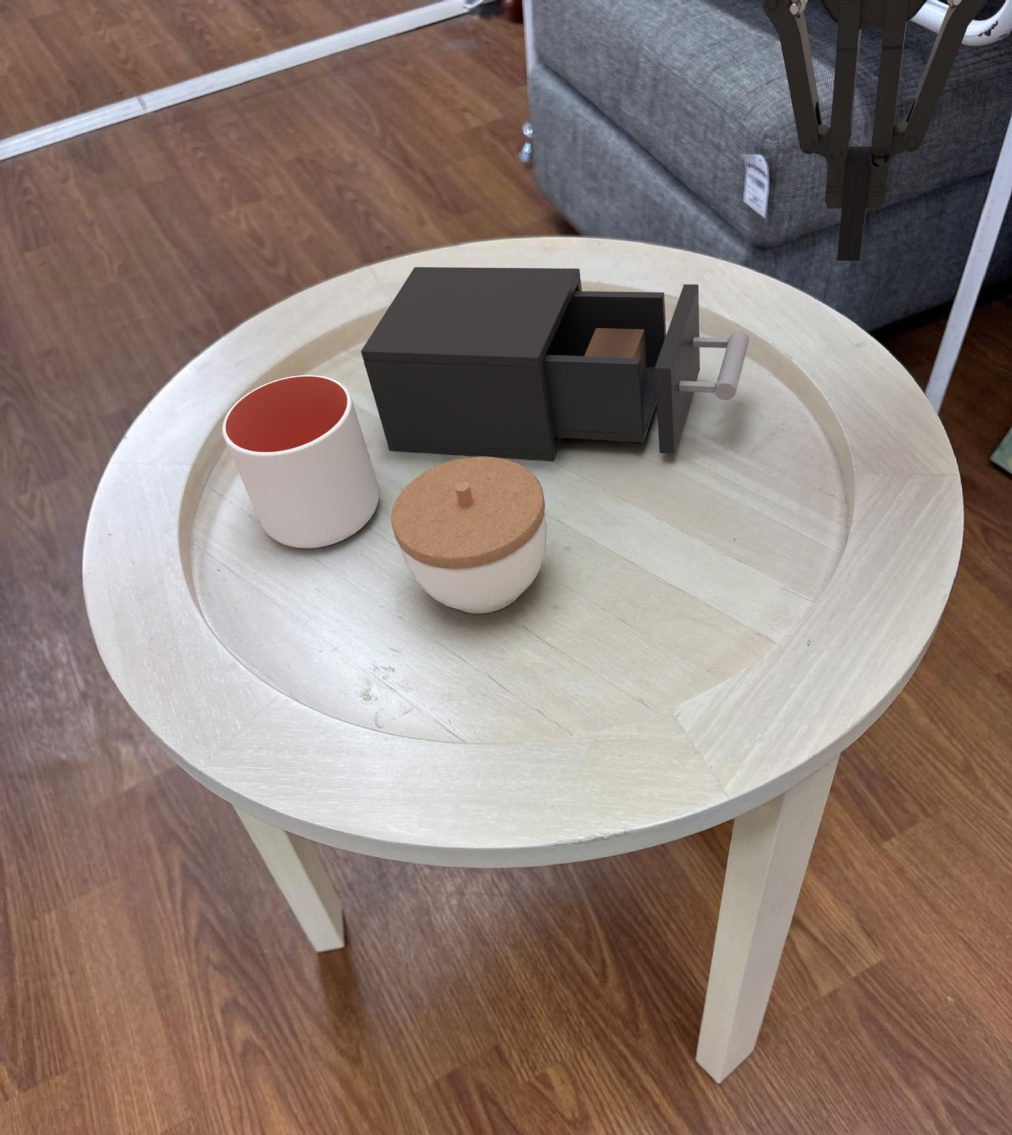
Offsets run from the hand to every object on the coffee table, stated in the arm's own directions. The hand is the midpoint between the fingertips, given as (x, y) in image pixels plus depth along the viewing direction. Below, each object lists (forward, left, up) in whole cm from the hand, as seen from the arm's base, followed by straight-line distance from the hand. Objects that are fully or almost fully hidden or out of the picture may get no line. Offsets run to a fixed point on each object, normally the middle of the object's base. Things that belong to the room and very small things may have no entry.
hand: (850, 250), depth 74 cm
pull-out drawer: (+16, 0, -14) cm, 21 cm away
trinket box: (+23, +21, -15) cm, 35 cm away
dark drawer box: (+29, 0, -15) cm, 32 cm away
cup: (+39, +15, -15) cm, 44 cm away
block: (+17, 0, -13) cm, 21 cm away
